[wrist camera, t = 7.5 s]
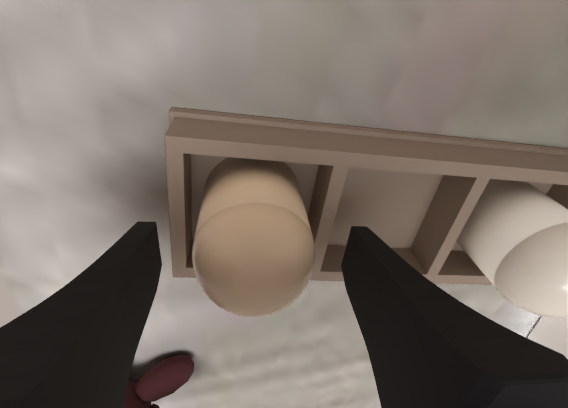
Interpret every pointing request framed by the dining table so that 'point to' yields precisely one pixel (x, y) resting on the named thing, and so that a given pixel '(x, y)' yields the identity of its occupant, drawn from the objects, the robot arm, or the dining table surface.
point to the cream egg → (521, 246)
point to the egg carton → (357, 184)
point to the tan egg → (252, 237)
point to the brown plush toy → (159, 382)
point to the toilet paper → (552, 334)
